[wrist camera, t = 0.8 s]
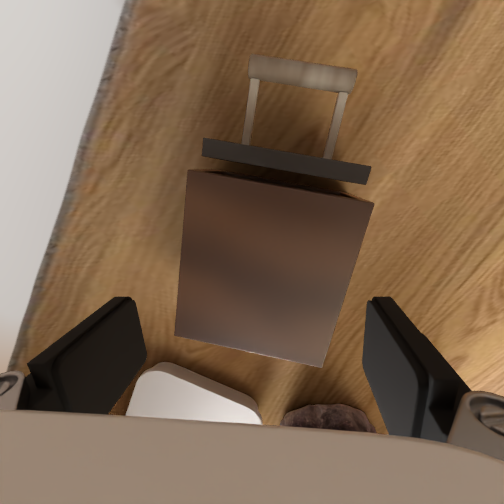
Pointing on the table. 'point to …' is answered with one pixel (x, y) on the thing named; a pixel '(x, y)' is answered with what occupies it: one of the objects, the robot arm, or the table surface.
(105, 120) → the table surface
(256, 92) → the drawer
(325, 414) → the crystal cluster
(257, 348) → the cabinet
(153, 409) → the white flat rounded slab
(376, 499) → the robot arm
